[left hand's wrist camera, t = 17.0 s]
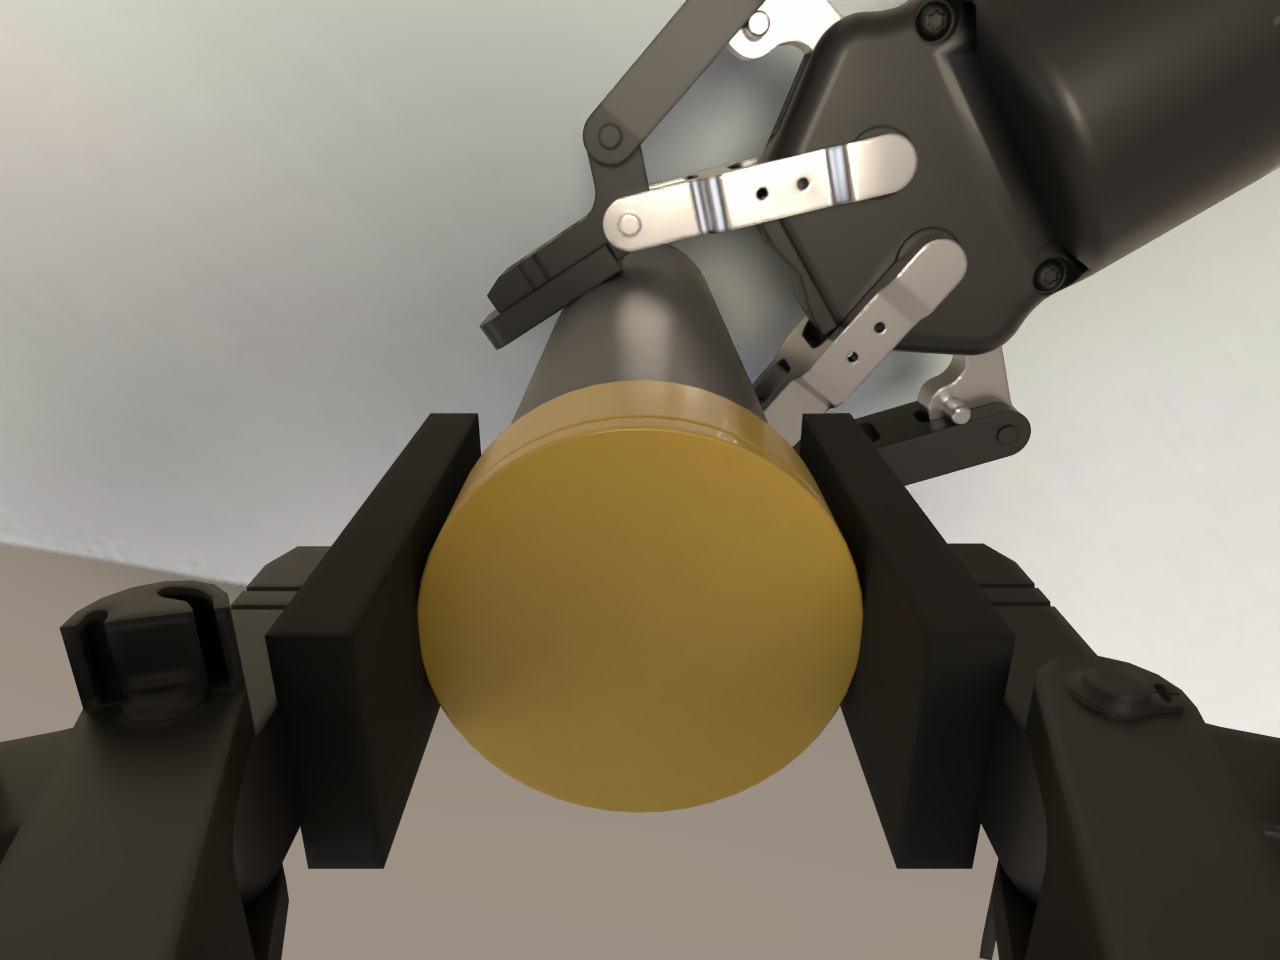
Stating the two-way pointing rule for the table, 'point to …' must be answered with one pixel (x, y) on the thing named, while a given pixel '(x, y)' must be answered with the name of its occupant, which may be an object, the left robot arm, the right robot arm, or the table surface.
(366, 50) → the table surface
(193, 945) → the left robot arm
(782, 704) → the lid
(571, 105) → the table surface
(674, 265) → the grey cylindrical bottle
